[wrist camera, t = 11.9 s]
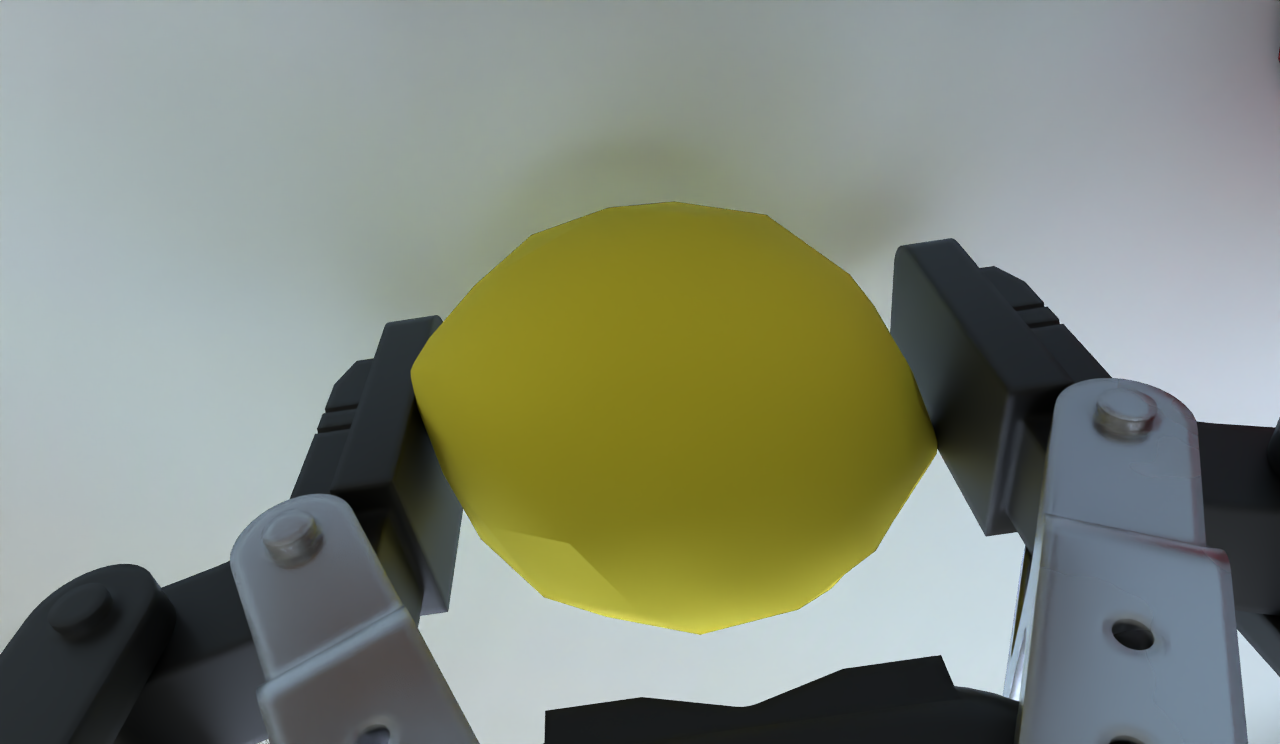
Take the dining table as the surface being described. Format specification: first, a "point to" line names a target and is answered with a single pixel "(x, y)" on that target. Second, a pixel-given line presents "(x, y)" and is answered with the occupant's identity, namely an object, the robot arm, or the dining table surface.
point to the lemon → (674, 416)
